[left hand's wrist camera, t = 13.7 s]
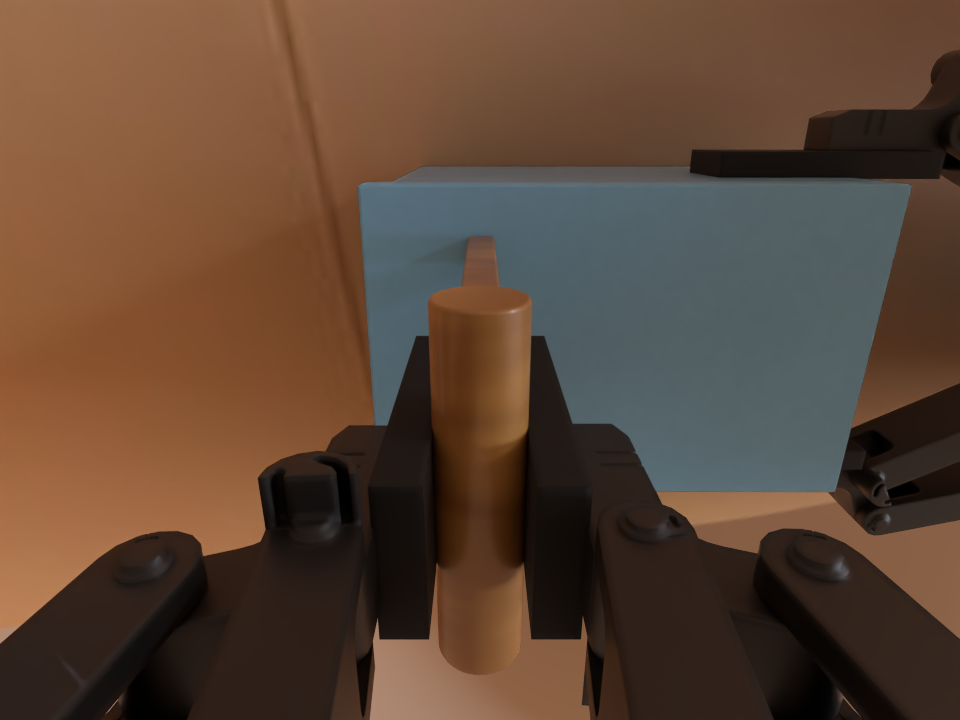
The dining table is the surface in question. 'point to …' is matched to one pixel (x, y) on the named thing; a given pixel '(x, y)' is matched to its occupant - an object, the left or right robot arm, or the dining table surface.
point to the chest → (582, 174)
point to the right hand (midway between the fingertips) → (685, 314)
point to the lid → (619, 344)
